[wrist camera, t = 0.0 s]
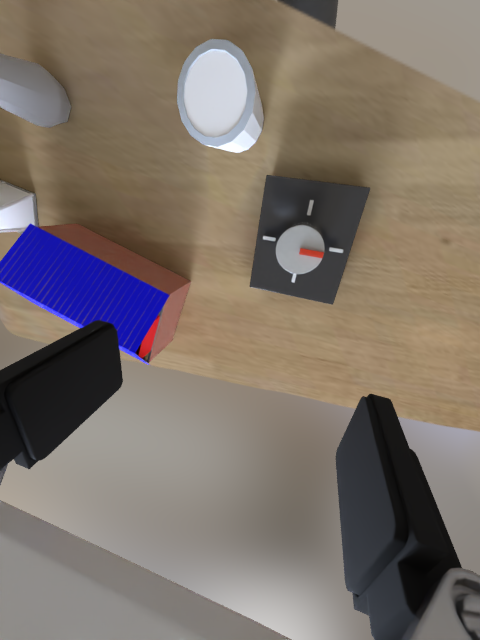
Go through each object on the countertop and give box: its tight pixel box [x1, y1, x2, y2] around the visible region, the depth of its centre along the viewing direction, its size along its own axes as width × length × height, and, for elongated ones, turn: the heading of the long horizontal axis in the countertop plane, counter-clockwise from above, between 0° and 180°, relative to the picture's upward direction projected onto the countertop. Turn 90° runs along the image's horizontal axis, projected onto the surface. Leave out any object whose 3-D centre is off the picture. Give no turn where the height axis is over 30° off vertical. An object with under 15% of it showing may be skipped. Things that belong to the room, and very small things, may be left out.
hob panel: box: [250, 175, 370, 304], centre depth 28 cm, size 12×10×3 cm
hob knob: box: [276, 222, 325, 274], centre depth 25 cm, size 4×4×5 cm
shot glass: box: [177, 39, 264, 153], centre depth 23 cm, size 7×7×7 cm
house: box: [0, 224, 191, 365], centre depth 34 cm, size 12×20×12 cm, turn 68°
